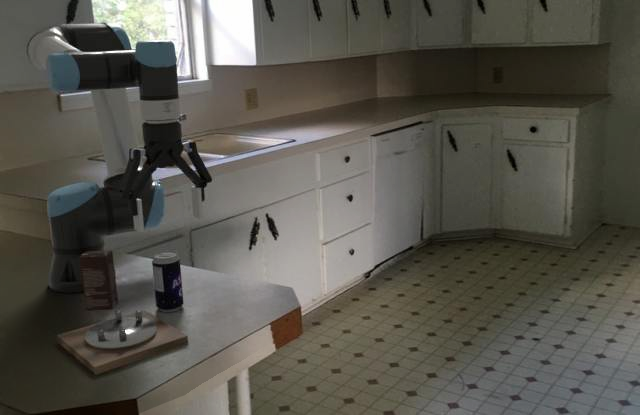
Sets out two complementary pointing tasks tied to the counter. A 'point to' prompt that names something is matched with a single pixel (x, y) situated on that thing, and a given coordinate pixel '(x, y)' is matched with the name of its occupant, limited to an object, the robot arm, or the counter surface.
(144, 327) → the flange
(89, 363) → the base plate
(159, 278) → the beverage can
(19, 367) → the counter surface
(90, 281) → the box
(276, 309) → the counter surface
